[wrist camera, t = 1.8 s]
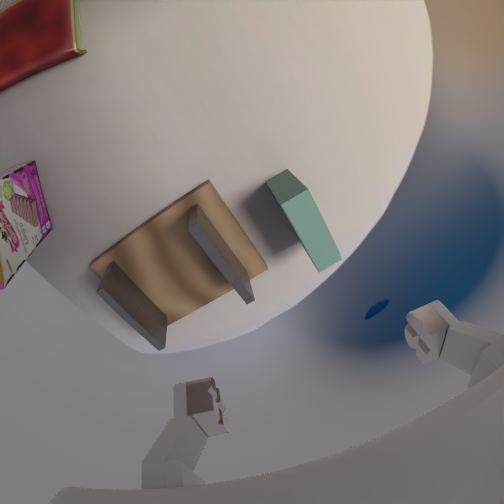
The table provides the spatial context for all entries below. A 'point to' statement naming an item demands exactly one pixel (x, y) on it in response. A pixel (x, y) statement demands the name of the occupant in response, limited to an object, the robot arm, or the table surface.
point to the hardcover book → (37, 37)
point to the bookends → (144, 310)
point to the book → (305, 219)
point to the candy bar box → (20, 218)
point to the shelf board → (181, 255)
